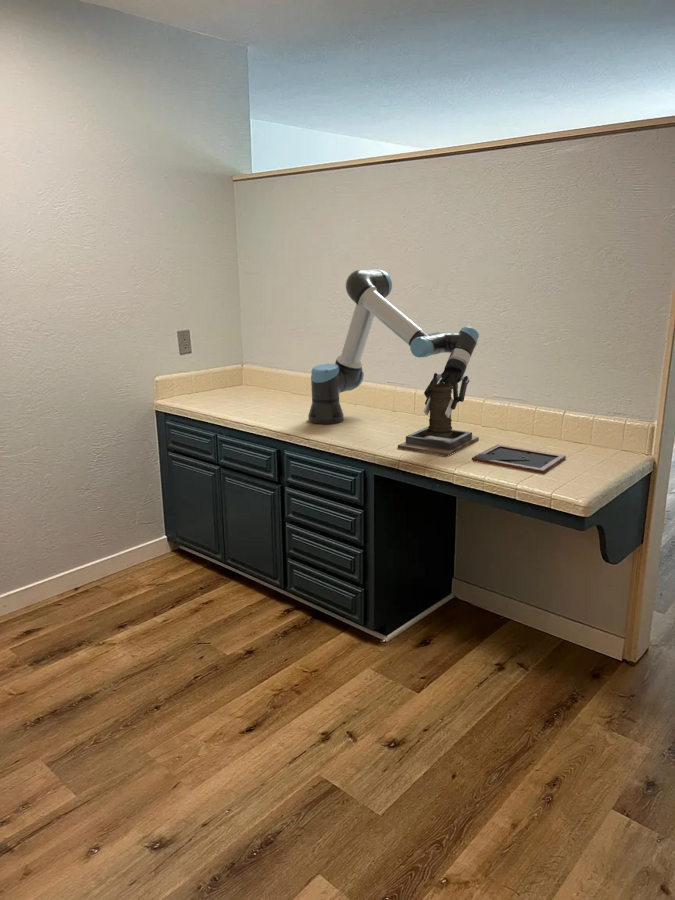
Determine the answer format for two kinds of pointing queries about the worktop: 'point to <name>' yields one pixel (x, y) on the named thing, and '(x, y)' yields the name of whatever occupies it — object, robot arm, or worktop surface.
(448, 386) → the container
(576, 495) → the worktop surface
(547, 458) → the picture frame
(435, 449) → the holder
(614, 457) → the worktop surface
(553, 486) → the worktop surface
